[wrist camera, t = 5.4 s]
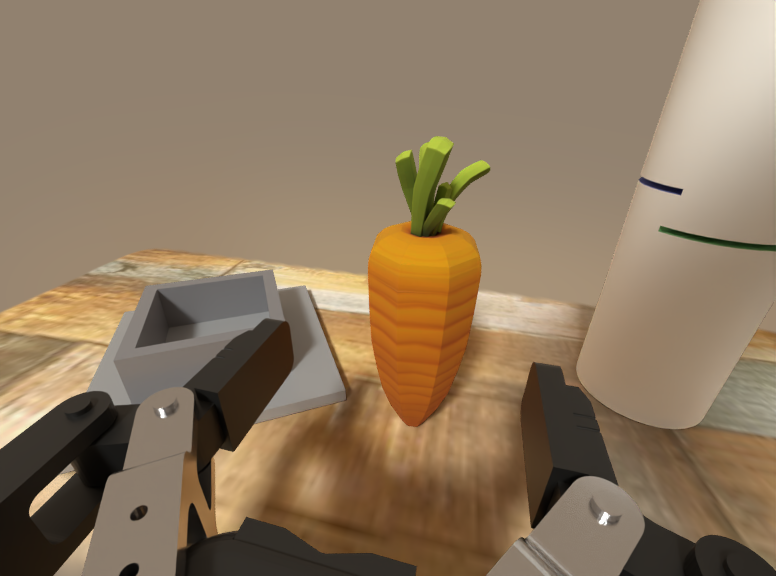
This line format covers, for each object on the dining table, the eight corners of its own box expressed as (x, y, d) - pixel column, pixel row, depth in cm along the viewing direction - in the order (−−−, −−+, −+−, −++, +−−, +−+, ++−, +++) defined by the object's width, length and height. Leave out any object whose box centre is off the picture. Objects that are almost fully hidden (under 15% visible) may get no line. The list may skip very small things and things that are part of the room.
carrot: (393, 381, 23) (402, 125, 16) (468, 411, 21) (516, 132, 14) (350, 438, 19) (337, 134, 12) (437, 481, 17) (482, 145, 10)
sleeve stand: (306, 293, 33) (302, 252, 31) (346, 400, 22) (343, 346, 20) (127, 320, 29) (110, 275, 27) (59, 474, 17) (20, 413, 15)
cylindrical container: (640, 345, 27) (844, -130, 15) (737, 420, 21) (1202, -278, 9) (554, 355, 26) (705, -153, 14) (630, 437, 20) (1010, -344, 8)
